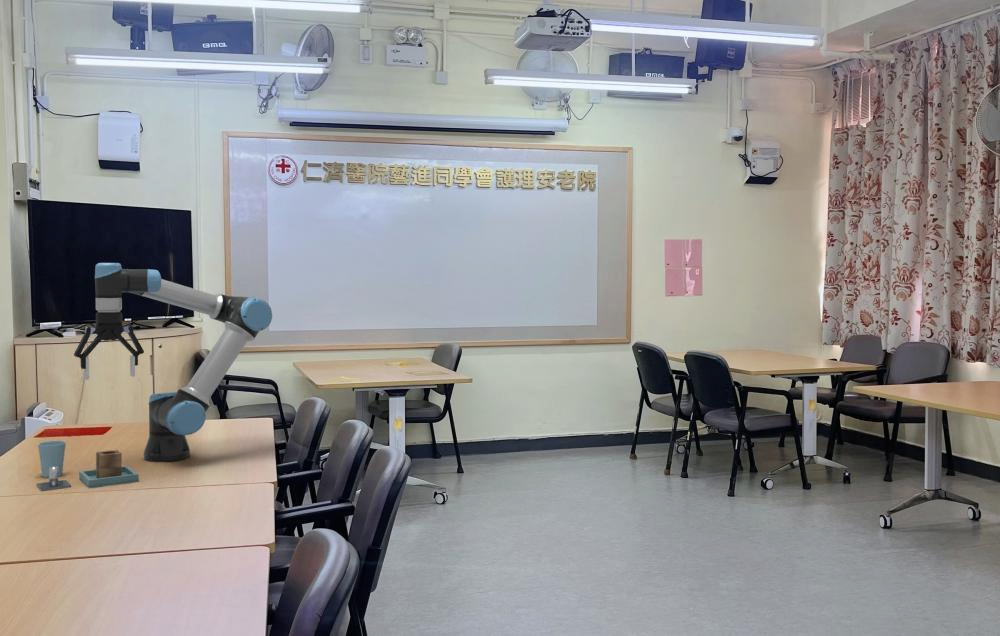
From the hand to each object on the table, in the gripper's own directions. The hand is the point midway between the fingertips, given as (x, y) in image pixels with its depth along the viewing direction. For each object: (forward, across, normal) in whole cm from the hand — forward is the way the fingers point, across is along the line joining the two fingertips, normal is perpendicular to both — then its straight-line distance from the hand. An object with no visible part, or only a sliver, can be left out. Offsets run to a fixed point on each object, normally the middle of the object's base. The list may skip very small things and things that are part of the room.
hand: (110, 377), depth 257 cm
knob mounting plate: (+31, +18, +7) cm, 36 cm away
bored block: (+30, +3, +8) cm, 32 cm away
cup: (+31, +16, -8) cm, 36 cm away
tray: (+31, +3, +8) cm, 32 cm away
